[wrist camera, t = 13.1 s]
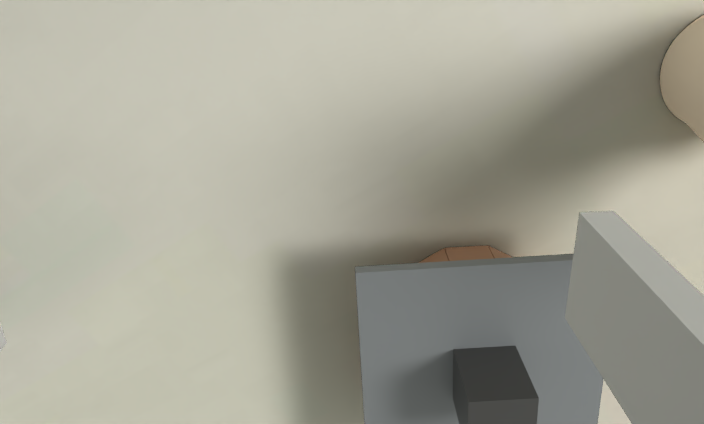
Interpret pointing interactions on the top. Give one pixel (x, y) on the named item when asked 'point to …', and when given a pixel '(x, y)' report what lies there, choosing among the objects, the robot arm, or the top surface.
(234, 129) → the top surface
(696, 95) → the water bottle
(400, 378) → the cover sheet
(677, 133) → the top surface
